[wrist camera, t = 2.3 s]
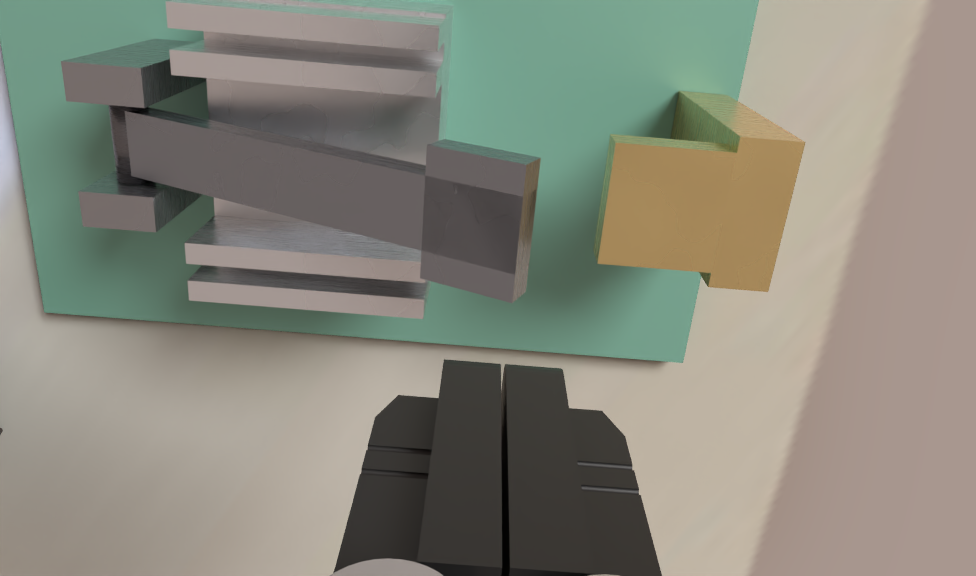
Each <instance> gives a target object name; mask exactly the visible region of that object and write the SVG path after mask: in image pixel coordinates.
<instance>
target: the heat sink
mask: <svg viewBox="0 0 976 576" xmlns="http://www.w3.org/2000/svg"><path fill="white" fill-rule="evenodd" d="M165 2H166V14H167V27H168V28H173V29H184V30H196V31H203V32H204V40H201V41H198V42H190V41H179V40H167V39H156V38H155V39H151V40H146V41H142V42H138V43H134V44H130V45H126V46H122V47H118V48H113V49H109V50H105V51H101V52H97V53H93V54H89V55H85V56H80V57H76V58H72V59H68V60H64V61H61V67H62V74H63V82H64V89H65V97H66V101H68V102H79V103H91V104H103V105H115V106H126V107H138V108H146V107H148V106H150V105H153V104H155V103H157V102H160V101H162V100H164V99H167V98H169V97H171V96H173V95H176V94H178V93H180V92H183V91H185V90H187V89H190V88H192V87H194V86H197V85H199V84H201V83H204V82H206V81H207V97H208V113H209V120H212V121H217V122H222V123H227V124H231V125H236V126H241V127H246V128H251V129H255V130H260V131H265V132H270V133H274V134H279V135H284V136H289V137H293V138H298V139H303V140H308V141H313V142H317V143H322V144H327V145H332V146H336V147H341V148H346V149H351V150H356V151H360V152H365V153H370V154H375V155H379V156H384V157H389V158H394V159H398V160H403V161H408V162H413V163H418V164H422V165H426V151H427V145H428V144H431V143H434V142H437V141H440V140H443V139H446V123H447V107H448V90H449V74H450V58H451V41H452V25H453V9H454V5H445V4H434V3H423V2H411V1H400V0H172V1H165ZM78 194H79V201H80V209H81V216H82V224H83V227H95V228H107V229H120V230H132V231H144V232H157V231H159V230H160V229H161V228H162V227H164V226H165V225H166V224H167V223H168V222H170V221H171V220H172V219H173V218H175V217H176V216H177V215H178V214H180V213H181V212H182V211H183V210H184V209H186V208H187V207H188V206H189V205H191V204H192V203H193V202H194V201H196V200H197V199H198V198H199V197H200V196H202V195H203V194H199V193H195V192H191V191H188V190H184V189H180V188H176V187H172V186H168V185H164V184H160V183H156V182H151V183H147V184H141V185H128V184H122V183H119V182H117V178H116V170H115V171H114V172H112V173H110V174H108V175H106V176H105V177H103V178H101V179H99V180H98V181H96V182H94V183H92V184H90V185H89V186H87V187H85V188H83V189H82V190H80V191H78ZM214 211H215V215H214V216H213V217H212V218H211V219H210V220H209V221H208V222H207V223H206V224H205V225H204V226H202V227H201V228H200V229H199V230H198V231H197V232H196V233H195V234H194V235H193V236H192V237H190V238H189V239H188V240H187V241H186V242H185V255H186V264H197V265H202V266H201V267H200V268H199V269H198V270H197V271H196V272H195V273H194V274H193V275H192V276H191V277H190V278H189V280H188V293H189V300H190V301H202V302H215V303H227V304H240V305H252V306H265V307H278V308H290V309H303V310H315V311H328V312H340V313H353V314H365V315H378V316H390V317H403V318H416V319H423V318H424V313H425V308H426V303H427V298H428V294H429V289H430V286H431V281H428V280H425V279H421V278H420V267H421V250H417V249H413V248H409V247H405V246H401V245H397V244H394V243H390V242H386V241H382V240H378V239H374V238H370V237H366V236H362V235H359V234H355V233H351V232H347V231H343V230H339V229H335V228H331V227H327V226H324V225H320V224H316V223H312V222H308V221H304V220H300V219H296V218H292V217H289V216H285V215H281V214H277V213H273V212H269V211H265V210H261V209H257V208H254V207H250V206H246V205H242V204H238V203H234V202H230V201H226V200H223V199H219V198H215V197H214Z"/></svg>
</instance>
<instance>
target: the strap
mask: <svg viewBox="0 0 976 576" xmlns="http://www.w3.org/2000/svg"><path fill="white" fill-rule="evenodd" d="M108 106H109V115H110V124H111V133H112V142H113V151H114V160H115V169H116V178H117V182H119V183H122V184H128V185H141V184H147V183H151V182H156V183H160V184H164V185H168V186H172V187H176V188H180V189H184V190H188V191H191V192H195V193H199V194H203V195H207V196H211V197H215V198H219V199H223V200H226V201H230V202H234V203H238V204H242V205H246V206H250V207H254V208H257V209H261V210H265V211H269V212H273V213H277V214H281V215H285V216H289V217H292V218H296V219H300V220H304V221H308V222H312V223H316V224H320V225H324V226H327V227H331V228H335V229H339V230H343V231H347V232H351V233H355V234H359V235H362V236H366V237H370V238H374V239H378V240H382V241H386V242H390V243H394V244H397V245H401V246H405V247H409V248H413V249H417V250H421V267H420V278H421V279H425V280H428V281H432V282H436V283H439V284H443V285H447V286H450V287H454V288H458V289H461V290H465V291H469V292H472V293H476V294H480V295H483V296H487V297H491V298H494V299H498V300H502V301H505V302H509V303H513V302H514V301H515V300H517V299H518V298H519V297H520V296H521V295H523V294H524V293H525V292H526V286H527V277H528V268H529V259H530V251H531V242H532V233H533V224H534V215H535V206H536V197H537V188H538V179H539V170H540V161H541V158H540V157H535V156H530V155H525V154H520V153H514V152H509V151H504V150H499V149H494V148H489V147H483V146H478V145H473V144H468V143H463V142H458V141H452V140H447V139H443V140H440V141H437V142H434V143H431V144H428V145H427V151H426V165H422V164H418V163H413V162H408V161H403V160H398V159H394V158H389V157H384V156H379V155H375V154H370V153H365V152H360V151H356V150H351V149H346V148H341V147H336V146H332V145H327V144H322V143H317V142H313V141H308V140H303V139H298V138H293V137H289V136H284V135H279V134H274V133H270V132H265V131H260V130H255V129H251V128H246V127H241V126H236V125H231V124H227V123H222V122H217V121H212V120H208V119H203V118H198V117H193V116H189V115H184V114H179V113H174V112H169V111H165V110H160V109H155V108H150V107H149V106H148V107H146V108H138V107H126V106H115V105H108Z"/></svg>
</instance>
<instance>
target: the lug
mask: <svg viewBox="0 0 976 576" xmlns="http://www.w3.org/2000/svg"><path fill="white" fill-rule="evenodd" d="M804 146H805V142H804V141H802V140H801V139H799V138H797V137H796V136H794V135H792V134H791V133H789V132H788V131H786V130H784V129H783V128H781V127H779V126H778V125H776V124H774V123H773V122H771V121H769V120H768V119H766V118H764V117H763V116H761V115H760V114H758V113H756V112H755V111H753V110H751V109H750V108H748V107H746V106H745V105H743V104H741V103H740V102H738V101H736V100H735V99H733V98H732V97H730V96H728V95H723V94H711V93H700V92H688V91H679V92H678V98H677V103H676V109H675V115H674V120H673V126H672V131H671V137H670V139H665V138H653V137H641V136H630V135H618V134H610V139H609V146H608V153H607V159H606V166H605V173H604V180H603V187H602V193H601V200H600V207H599V214H598V221H597V228H596V234H595V241H594V248H593V251H594V254H595V257H596V261H597V264H607V265H619V266H631V267H644V268H656V269H668V270H680V271H693V272H699V273H700V275H701V276H702V278H703V280H704V281H705V283H706V284H707V286H708V287H715V288H727V289H739V290H751V291H764V292H768V290H769V286H770V282H771V278H772V274H773V270H774V266H775V262H776V258H777V254H778V250H779V246H780V242H781V238H782V234H783V230H784V226H785V222H786V218H787V214H788V210H789V206H790V202H791V198H792V194H793V190H794V186H795V182H796V178H797V174H798V170H799V166H800V162H801V158H802V154H803V150H804Z"/></svg>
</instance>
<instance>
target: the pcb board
mask: <svg viewBox="0 0 976 576" xmlns="http://www.w3.org/2000/svg"><path fill="white" fill-rule="evenodd" d="M165 1H172V0H0V42H1V48H2V55H3V61H4V67H5V73H6V79H7V85H8V92H9V98H10V104H11V110H12V116H13V122H14V129H15V135H16V141H17V147H18V153H19V159H20V166H21V172H22V178H23V184H24V190H25V196H26V202H27V209H28V215H29V221H30V227H31V233H32V239H33V246H34V252H35V258H36V264H37V270H38V276H39V283H40V289H41V295H42V301H43V307H44V312H46V313H59V314H71V315H84V316H97V317H109V318H122V319H135V320H147V321H160V322H172V323H185V324H198V325H210V326H223V327H236V328H248V329H261V330H274V331H286V332H299V333H312V334H324V335H337V336H350V337H362V338H375V339H388V340H400V341H413V342H426V343H438V344H451V345H463V346H476V347H489V348H501V349H514V350H527V351H539V352H552V353H565V354H577V355H590V356H603V357H615V358H628V359H641V360H653V361H666V362H679V363H683V360H684V355H685V351H686V346H687V341H688V336H689V332H690V327H691V322H692V317H693V312H694V308H695V303H696V298H697V293H698V289H699V284H700V279H701V275H700V273H699V272H693V271H680V270H668V269H656V268H644V267H631V266H619V265H607V264H597V261H596V257H595V254H594V251H593V248H594V241H595V234H596V228H597V221H598V214H599V207H600V200H601V193H602V187H603V180H604V173H605V166H606V159H607V153H608V146H609V139H610V134H618V135H630V136H641V137H653V138H665V139H670V137H671V131H672V126H673V120H674V115H675V109H676V103H677V98H678V92H679V91H688V92H700V93H711V94H723V95H728V96H730V97H732V98H733V99H735V100H736V101H738V98H739V93H740V88H741V83H742V79H743V74H744V69H745V64H746V59H747V55H748V50H749V45H750V40H751V36H752V31H753V26H754V21H755V16H756V12H757V7H758V2H759V0H400V1H411V2H423V3H434V4H445V5H454V9H453V25H452V41H451V58H450V74H449V90H448V107H447V123H446V139H447V140H452V141H458V142H463V143H468V144H473V145H478V146H483V147H489V148H494V149H499V150H504V151H509V152H514V153H520V154H525V155H530V156H535V157H540V158H541V161H540V170H539V179H538V188H537V197H536V206H535V215H534V224H533V233H532V242H531V251H530V259H529V268H528V277H527V286H526V292H525V293H524V294H523V295H521V296H520V297H519V298H518V299H517V300H515V301H514V302H513V303H509V302H505V301H502V300H498V299H494V298H491V297H487V296H483V295H480V294H476V293H472V292H469V291H465V290H461V289H458V288H454V287H450V286H447V285H443V284H439V283H436V282H432V281H431V286H430V289H429V294H428V298H427V303H426V308H425V313H424V318H423V319H416V318H403V317H390V316H378V315H365V314H353V313H340V312H328V311H315V310H303V309H290V308H278V307H265V306H252V305H240V304H227V303H215V302H202V301H190V300H189V293H188V280H189V278H190V277H191V276H192V275H193V274H194V273H195V272H196V271H197V270H198V269H199V268H200V267H201V266H202V265H197V264H186V255H185V242H186V241H187V240H188V239H189V238H190V237H192V236H193V235H194V234H195V233H196V232H197V231H198V230H199V229H200V228H201V227H202V226H204V225H205V224H206V223H207V222H208V221H209V220H210V219H211V218H212V217H213V216H214V215H215V211H214V197H211V196H207V195H202V196H200V197H199V198H198V199H197V200H196V201H194V202H193V203H192V204H191V205H189V206H188V207H187V208H186V209H184V210H183V211H182V212H181V213H180V214H178V215H177V216H176V217H175V218H173V219H172V220H171V221H170V222H168V223H167V224H166V225H165V226H164V227H162V228H161V229H160V230H159V231H157V232H144V231H132V230H120V229H107V228H95V227H83V224H82V216H81V209H80V201H79V194H78V191H80V190H82V189H83V188H85V187H87V186H89V185H90V184H92V183H94V182H96V181H98V180H99V179H101V178H103V177H105V176H106V175H108V174H110V173H112V172H114V171H115V170H116V169H115V160H114V151H113V142H112V133H111V124H110V115H109V106H108V105H103V104H91V103H79V102H68V101H66V97H65V89H64V82H63V74H62V67H61V61H64V60H68V59H72V58H76V57H80V56H85V55H89V54H93V53H97V52H101V51H105V50H109V49H113V48H118V47H122V46H126V45H130V44H134V43H138V42H142V41H146V40H151V39H155V38H156V39H167V40H179V41H190V42H198V41H201V40H204V32H203V31H196V30H184V29H173V28H168V27H167V14H166V2H165ZM149 107H150V108H155V109H160V110H165V111H169V112H174V113H179V114H184V115H189V116H193V117H198V118H203V119H208V120H209V113H208V97H207V81H206V82H204V83H201V84H199V85H197V86H194V87H192V88H190V89H187V90H185V91H183V92H180V93H178V94H176V95H173V96H171V97H169V98H167V99H164V100H162V101H160V102H157V103H155V104H153V105H150V106H149Z"/></svg>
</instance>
